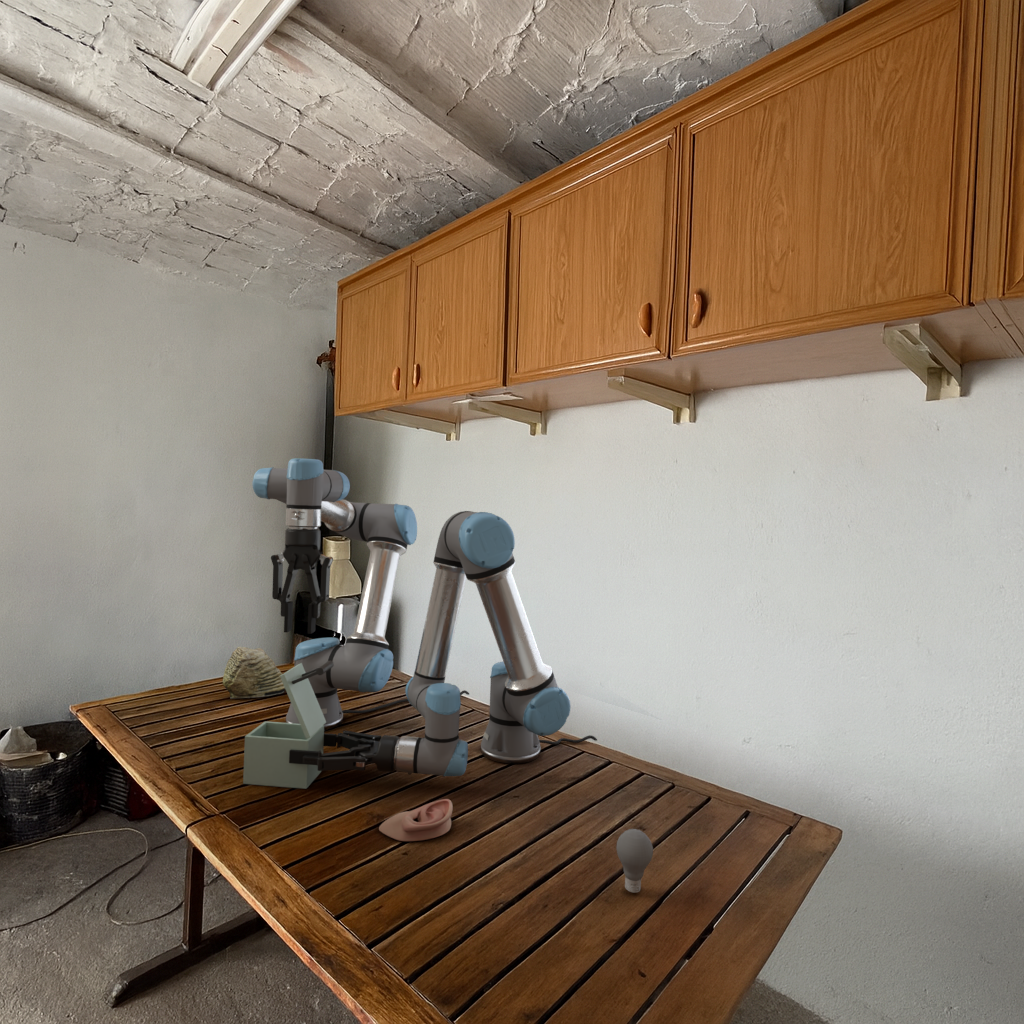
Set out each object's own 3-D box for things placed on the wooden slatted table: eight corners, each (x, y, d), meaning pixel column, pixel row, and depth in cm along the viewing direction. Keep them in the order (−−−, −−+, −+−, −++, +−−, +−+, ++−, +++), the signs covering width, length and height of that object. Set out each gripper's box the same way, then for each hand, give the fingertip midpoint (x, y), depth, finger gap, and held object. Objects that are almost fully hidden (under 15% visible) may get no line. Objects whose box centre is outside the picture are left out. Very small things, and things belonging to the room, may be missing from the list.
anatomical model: (372, 815, 119) (396, 788, 130) (371, 836, 119) (395, 808, 130) (440, 826, 116) (458, 797, 127) (439, 847, 116) (457, 817, 127)
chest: (243, 783, 138) (244, 736, 138) (263, 765, 148) (264, 721, 147) (306, 788, 137) (308, 741, 137) (322, 770, 147) (324, 725, 146)
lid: (279, 675, 137) (315, 660, 136) (297, 664, 147) (331, 650, 146) (306, 739, 137) (342, 724, 136) (322, 723, 146) (356, 709, 146)
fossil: (218, 695, 195) (220, 647, 195) (278, 685, 208) (279, 640, 207) (228, 703, 189) (230, 653, 188) (289, 692, 201) (290, 645, 201)
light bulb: (610, 879, 108) (613, 822, 108) (644, 879, 109) (647, 822, 109) (619, 902, 102) (622, 840, 102) (655, 901, 103) (658, 840, 103)
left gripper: (256, 526, 138) (253, 633, 138) (336, 530, 137) (333, 637, 138) (271, 525, 145) (268, 626, 146) (347, 528, 145) (343, 630, 145)
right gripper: (383, 793, 129) (277, 785, 131) (408, 751, 152) (317, 744, 153) (385, 757, 129) (278, 749, 131) (409, 720, 152) (318, 713, 153)
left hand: (299, 631), depth 142 cm, fingers open, 5 cm apart
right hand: (299, 747), depth 142 cm, fingers closed on chest, 10 cm apart
